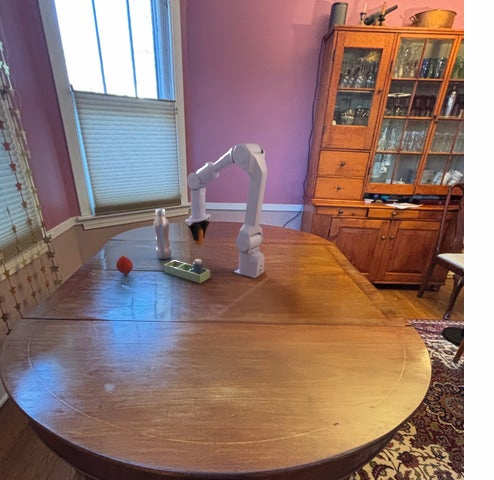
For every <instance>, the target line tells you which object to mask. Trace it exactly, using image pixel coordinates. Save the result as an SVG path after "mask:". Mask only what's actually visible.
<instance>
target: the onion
mask: <svg viewBox="0 0 494 480" xmlns="http://www.w3.org/2000/svg"><path fill="white" fill-rule="evenodd" d="M115 266H116V269H117V271H118V272H119V273H121V274H123V275H125V276H128V275H129V274H130V273H131V271H132V270H133V268H134V265H133V262H132V260H131V259H130V258H128V257H127V256H126V255H125V254H122V255H121V256H120V257H119V258H118V259H117V262H116V265H115Z"/></svg>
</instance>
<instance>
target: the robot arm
mask: <svg viewBox="0 0 494 480" xmlns="http://www.w3.org/2000/svg"><path fill="white" fill-rule="evenodd" d="M234 164H236V165H237V166H238V167H239V168H241V169H242V170H243V171H244V172H246V174H247V176H248V177H249V182H248V183H249V184H248V190H247V199H246V206H245V215H244V222H243V225H242V227H241V228H240V229H239V233H238V236H237V238H236V240H235V245H236V248H237V249H238V253H239V255H238V256H239V257H238V268H237V269H236V270H234V271H233V273H235V274H239V275H243V276H247V277H249V278H250V277H251V278H253V279H254V278H258V277H259V276H260V275H261V274H263V273H265V260H266V259H265V258H266V257H265V254H264V253H263V252H261V251H260V247H261V246H262V244H263V243H264V237H263V228H262V227H261V226H260V222H261V215H262V211H263V204H264V197H265V190H266V184H267V178H268V168H267V163H266V150H265V149H264V148H263V147H262V146H261V144H260V143H257V142H255V143H244V142H239V143H237V144H236V145H235V146H232V147H231V148H230V149H229V150H228V151H227V152H226V153H225V154H224V155H222V156H221V157H220V158H219V159H218V160H216V161H215V162H212V161H207V162H205V163H204V166H202V167H201V168H198V169H197V170H196V172H190V173H189V174H188V176H187V178H186V184H187V187H188V188H189V189H190V209H191V211H190V212H191V215H190V216H189V218H187V219H185V226H187V227H188V228H189V231H190V232H191V236H192V240H193V241H194V242H195V241H198V240H199V230H200V227H202V229H203V240H204V239H205V237H206V233H207V232H206V231H207V229H208V227H209V225H210V221H209V220H211V219H212V218H211V217H212V216H211V215H212V214H210V213H206V192H207V188H208V186H209V184H210V183H211V182H213V181H216V180H217V179H218V178H219V177H220V172H222V171H224V170H225V169H227V168H229V167H230V166H232V165H234Z"/></svg>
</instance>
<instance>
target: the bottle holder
mask: <svg viewBox="0 0 494 480" xmlns="http://www.w3.org/2000/svg"><path fill="white" fill-rule="evenodd" d="M163 272H164V273H167V274H170V275H173V276H176V277H179V278H183V279H185V280H188V281H192V282H194V283H198V284H201V283H203V282H205V281H207V280H208V279H210V278H211V270H210V269H208V268H204V267H203V273H201V274H200V275H199V274H196V273H193V264H190V263H187V262H183V261H181V260H177V259H174V260H171V261H169V262H167V263H164V264H163Z"/></svg>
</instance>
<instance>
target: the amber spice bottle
mask: <svg viewBox="0 0 494 480" xmlns="http://www.w3.org/2000/svg"><path fill="white" fill-rule="evenodd" d="M194 245H197V246H203V245H204V239H203V229H202V227H200V230H199V240H198V241H195V240H194Z"/></svg>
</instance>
